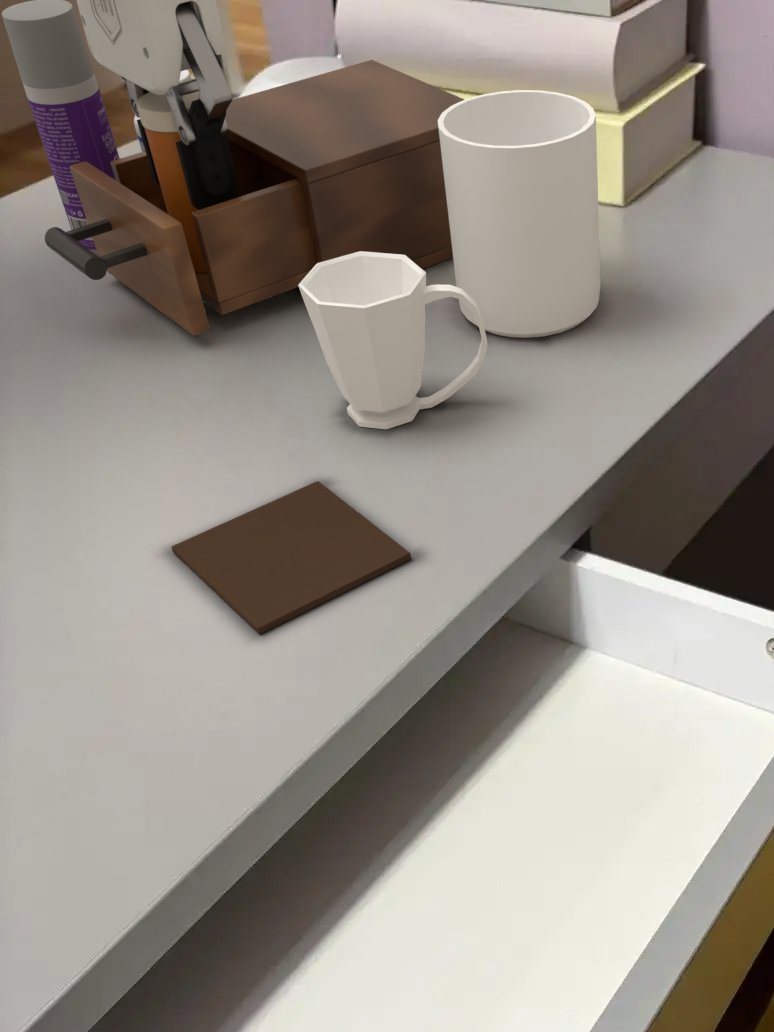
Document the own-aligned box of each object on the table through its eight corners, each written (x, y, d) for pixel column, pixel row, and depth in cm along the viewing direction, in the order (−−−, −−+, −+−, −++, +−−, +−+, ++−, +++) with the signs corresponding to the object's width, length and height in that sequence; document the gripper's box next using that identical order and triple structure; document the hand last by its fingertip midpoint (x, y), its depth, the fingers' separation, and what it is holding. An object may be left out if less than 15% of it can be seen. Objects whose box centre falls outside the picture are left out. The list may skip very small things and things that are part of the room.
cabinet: (331, 304, 84) (305, 170, 77) (224, 236, 91) (193, 110, 85) (502, 239, 90) (491, 110, 84) (389, 181, 98) (372, 59, 91)
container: (152, 245, 91) (84, 10, 80) (90, 263, 89) (11, 25, 78) (130, 224, 93) (61, -6, 82) (69, 240, 92) (-10, 7, 81)
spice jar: (200, 281, 82) (157, 117, 75) (168, 258, 85) (123, 98, 77) (261, 259, 84) (225, 98, 77) (228, 238, 86) (189, 80, 79)
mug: (453, 344, 80) (430, 150, 71) (466, 261, 88) (446, 78, 79) (601, 339, 79) (596, 145, 71) (600, 257, 88) (595, 73, 79)
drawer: (133, 359, 78) (98, 249, 72) (44, 287, 85) (7, 183, 80) (371, 270, 85) (354, 166, 80) (271, 211, 92) (249, 112, 87)
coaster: (259, 634, 60) (257, 628, 60) (172, 552, 65) (170, 546, 65) (411, 559, 64) (410, 552, 64) (319, 486, 69) (318, 480, 69)
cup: (325, 386, 76) (298, 256, 70) (486, 369, 77) (473, 239, 71) (326, 448, 72) (297, 313, 66) (498, 429, 73) (485, 294, 67)
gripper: (-19, -168, 70) (87, 170, 84) (113, -119, 62) (208, 249, 75) (104, -188, 74) (187, 141, 87) (247, -145, 65) (315, 213, 78)
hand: (196, 188), depth 81 cm, fingers closed on spice jar, 4 cm apart
